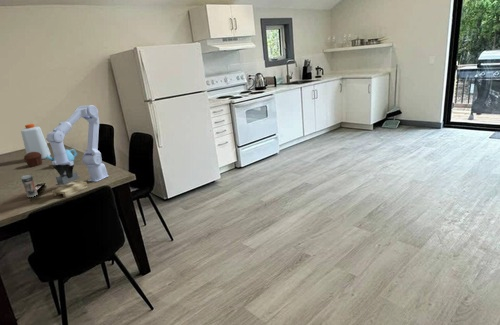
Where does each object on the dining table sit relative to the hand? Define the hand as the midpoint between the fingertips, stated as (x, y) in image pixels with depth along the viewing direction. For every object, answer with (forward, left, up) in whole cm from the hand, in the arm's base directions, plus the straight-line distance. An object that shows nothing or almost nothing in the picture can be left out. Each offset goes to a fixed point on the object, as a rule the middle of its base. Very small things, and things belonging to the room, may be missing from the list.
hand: (67, 177), depth 174 cm
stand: (0, 0, -8) cm, 8 cm away
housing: (0, 0, -2) cm, 2 cm away
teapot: (-39, -57, -8) cm, 70 cm away
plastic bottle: (-50, -101, -8) cm, 113 cm away
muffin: (-35, -84, -8) cm, 91 cm away
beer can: (+10, -18, -8) cm, 22 cm away
